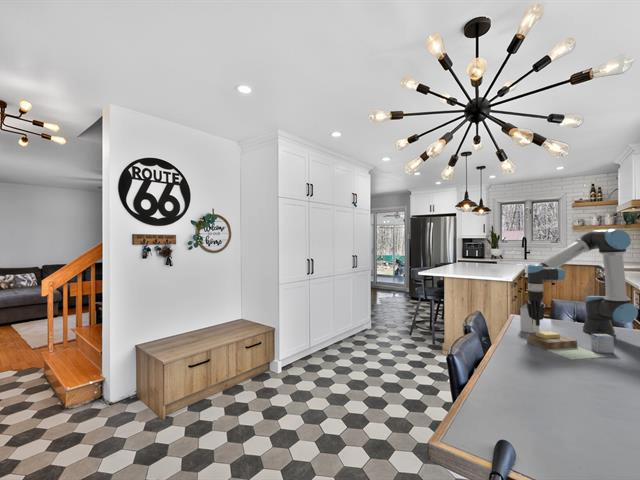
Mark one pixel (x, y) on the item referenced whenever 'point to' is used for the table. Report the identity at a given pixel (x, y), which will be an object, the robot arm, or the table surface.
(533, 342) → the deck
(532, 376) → the table surface
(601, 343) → the medicine box
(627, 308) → the robot arm
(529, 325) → the milk carton
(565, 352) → the mat
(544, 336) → the yellow sponge block
